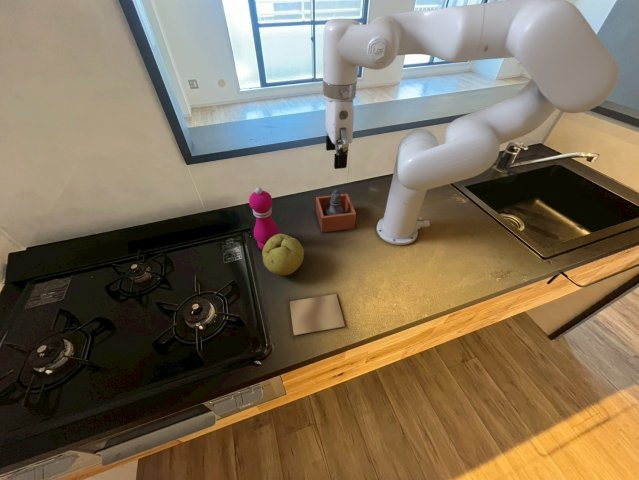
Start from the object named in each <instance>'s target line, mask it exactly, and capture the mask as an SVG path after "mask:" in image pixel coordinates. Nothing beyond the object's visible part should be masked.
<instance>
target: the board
mask: <svg viewBox="0 0 639 480" xmlns="http://www.w3.org/2000/svg"><path fill="white" fill-rule="evenodd" d="M289 308H290V316H291V325H292V332H293V337H295V336H301V335H306V334H312V333H317V332H323V331H329V330H335V329H341V328H345V327H346V325H345V321H344V320H345V319H344V317H343V313H342V309H341V306H340V302H339V298H338V295H337V293H333V294H328V295H321V296H316V297H309V298H303V299H297V300H296V299H295V300H290V301H289Z"/></svg>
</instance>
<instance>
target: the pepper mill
mask: <svg viewBox="0 0 639 480" xmlns="http://www.w3.org/2000/svg"><path fill="white" fill-rule="evenodd" d="M248 205H249V207H250V208H251V210H252V213H253V216H254V217H255V225H254V228H253V237H254V239H255V240H256V242H257V243H256V244H257V247H258V248H259V249H260V250H262V251H263V248H264V246H265V244H266V242H267V241H268V240H269V239H270V238H271V237H272V236H274V235H277V234H280V230H279V227H278V224H277V223H276V222H275V221H274V220H273V217H272V213H273V209H272V206H273V198H272V195H271V194H270V193H269V192H268V191H266V190H263V188H262V187H259V186H258V187H256V188H255V190H254V191H253V192H252V193H251V194H250V196H249V198H248Z"/></svg>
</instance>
